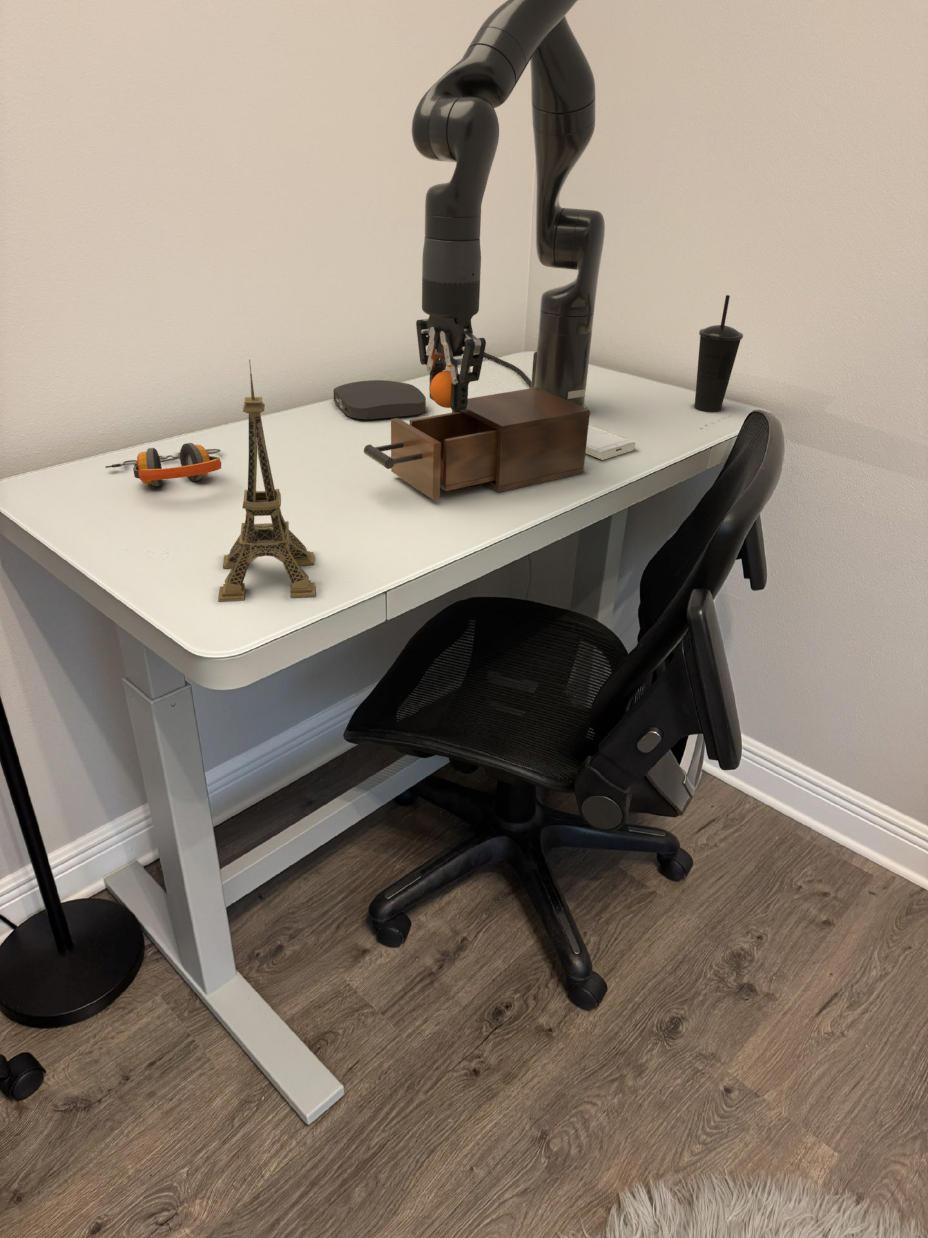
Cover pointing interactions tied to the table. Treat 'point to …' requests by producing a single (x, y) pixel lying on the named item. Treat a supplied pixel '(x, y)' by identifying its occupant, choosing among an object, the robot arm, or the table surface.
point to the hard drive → (606, 444)
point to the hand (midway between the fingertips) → (447, 403)
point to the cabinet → (533, 436)
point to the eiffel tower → (269, 535)
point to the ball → (442, 389)
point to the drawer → (440, 452)
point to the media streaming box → (379, 399)
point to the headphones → (192, 466)
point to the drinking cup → (715, 363)
